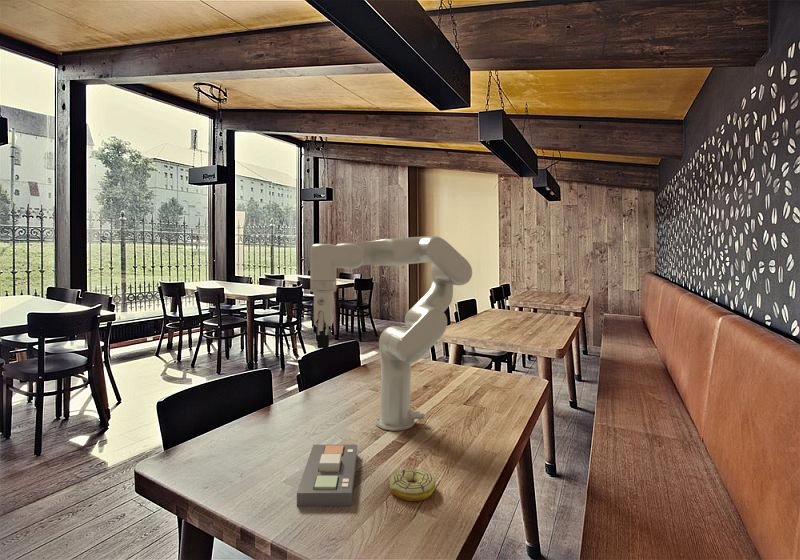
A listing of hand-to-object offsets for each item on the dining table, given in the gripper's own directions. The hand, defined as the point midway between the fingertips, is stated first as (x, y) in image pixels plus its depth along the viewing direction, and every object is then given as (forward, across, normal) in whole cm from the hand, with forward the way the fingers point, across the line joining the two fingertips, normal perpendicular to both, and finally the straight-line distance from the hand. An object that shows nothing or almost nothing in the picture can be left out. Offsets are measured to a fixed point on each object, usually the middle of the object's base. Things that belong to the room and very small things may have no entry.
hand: (323, 347), depth 133 cm
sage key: (+27, -32, -5) cm, 42 cm away
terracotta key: (+27, -16, -5) cm, 31 cm away
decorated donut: (+28, -30, -25) cm, 48 cm away
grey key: (+25, -24, -5) cm, 35 cm away
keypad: (+27, -24, -5) cm, 37 cm away
